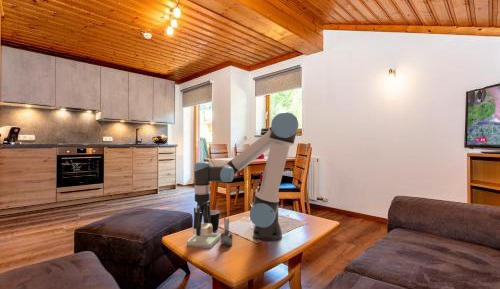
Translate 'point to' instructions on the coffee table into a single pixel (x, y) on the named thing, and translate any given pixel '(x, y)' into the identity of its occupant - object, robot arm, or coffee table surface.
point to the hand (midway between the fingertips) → (202, 238)
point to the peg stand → (226, 234)
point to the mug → (214, 219)
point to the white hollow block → (205, 229)
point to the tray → (205, 240)
